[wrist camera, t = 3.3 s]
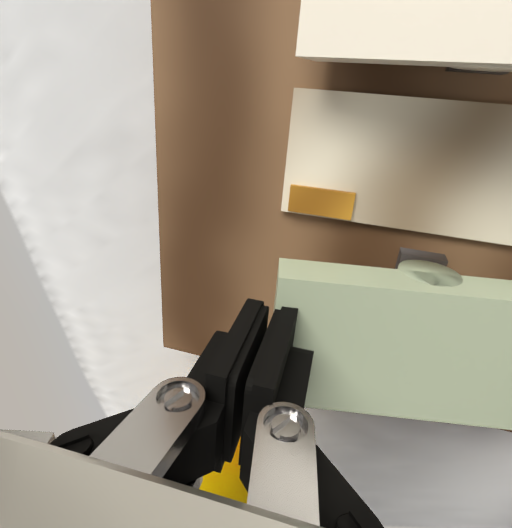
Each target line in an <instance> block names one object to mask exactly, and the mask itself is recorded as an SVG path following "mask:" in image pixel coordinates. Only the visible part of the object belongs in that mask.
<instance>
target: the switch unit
mask: <svg viewBox="0 0 512 528" xmlns="http://www.w3.org/2000/svg"><path fill="white" fill-rule="evenodd" d="M300 7H301V0H151V21H152V48H153V75H154V102H155V129H156V156H157V183H158V210H159V237H160V264H161V290H162V317H163V344H164V347H167V348H171V349H175V350H179V351H183V352H188V353H192V354H196V355H201V354H202V352H203V351H204V349H205V347H206V346H207V344H208V343H209V341H210V339H211V338H212V336H213V334H214V333H215V332H216V331H223V332H229V330H230V328H231V327H232V325H233V323H234V321H235V320H236V318H237V316H238V314H239V312H240V311H241V309H242V307H243V305H244V304H245V302H246V300H247V299H248V298H250V299H255V300H260V301H264V306H269V315H268V324H267V328H268V325H269V323H270V320H271V318H272V315H273V310H274V301H275V292H276V283H277V274H278V265H279V258H287V259H297V260H308V261H318V262H328V263H339V264H349V265H359V266H370V267H380V268H390V269H398V265H399V263H401V262H402V261H406V260H424V261H430V262H434V263H438V264H441V265H444V266H446V267H448V268H451V269H452V270H454V271H456V272H457V273H459V274H460V275H463V276H473V277H483V278H494V279H504V280H512V72H489V71H473V70H463V69H456V68H451V67H439V66H415V65H391V64H367V63H342V62H318V61H312V60H308V59H304V58H300V57H297V56H295V55H296V45H297V36H298V26H299V16H300ZM501 430H505V431H509V432H512V430H506V429H501Z"/></svg>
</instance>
